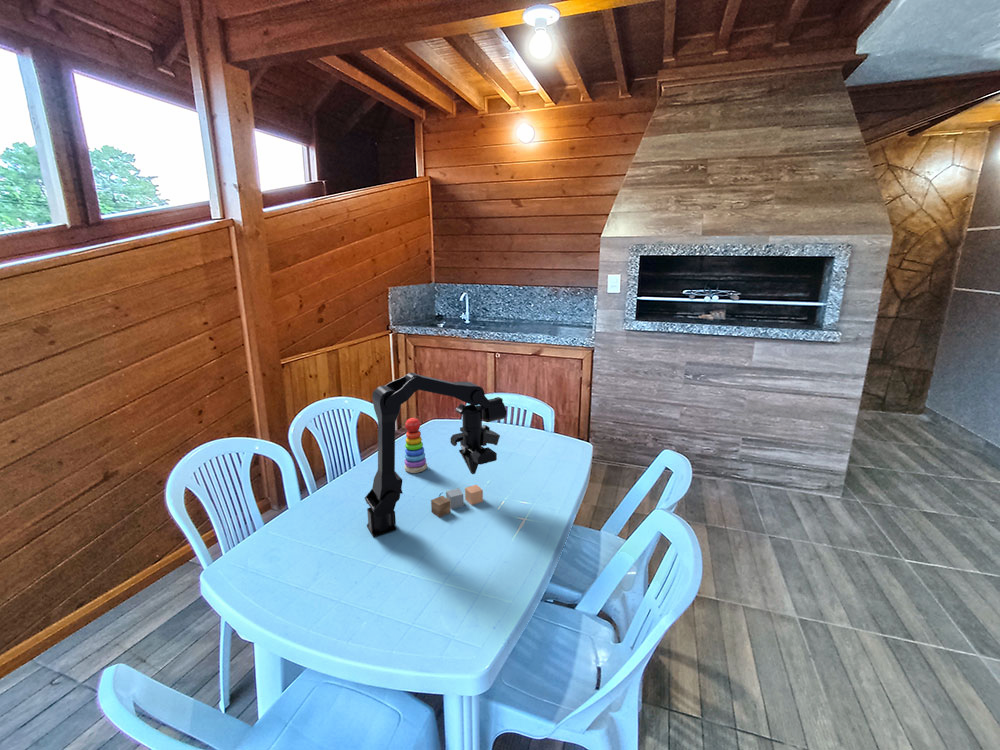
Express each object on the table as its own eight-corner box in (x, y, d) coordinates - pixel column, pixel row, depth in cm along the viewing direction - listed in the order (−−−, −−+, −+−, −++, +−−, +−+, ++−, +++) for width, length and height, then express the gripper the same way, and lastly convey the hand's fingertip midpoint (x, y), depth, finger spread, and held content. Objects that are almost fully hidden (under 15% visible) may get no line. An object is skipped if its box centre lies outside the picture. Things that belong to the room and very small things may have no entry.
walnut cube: (439, 517, 136) (438, 505, 135) (431, 512, 139) (431, 500, 138) (450, 512, 139) (450, 500, 138) (442, 507, 142) (442, 495, 141)
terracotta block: (471, 505, 143) (471, 493, 142) (465, 499, 146) (464, 487, 145) (482, 501, 145) (482, 489, 144) (476, 496, 148) (476, 484, 147)
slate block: (451, 509, 141) (450, 497, 140) (446, 503, 144) (446, 491, 143) (463, 506, 143) (463, 494, 142) (458, 500, 146) (458, 488, 145)
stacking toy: (429, 464, 170) (427, 414, 166) (424, 474, 163) (421, 423, 158) (408, 463, 171) (405, 414, 166) (401, 473, 163) (398, 422, 159)
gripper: (512, 429, 136) (512, 479, 140) (480, 411, 151) (481, 456, 155) (478, 437, 130) (479, 488, 134) (449, 417, 146) (450, 464, 150)
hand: (473, 473), depth 143 cm, fingers closed
